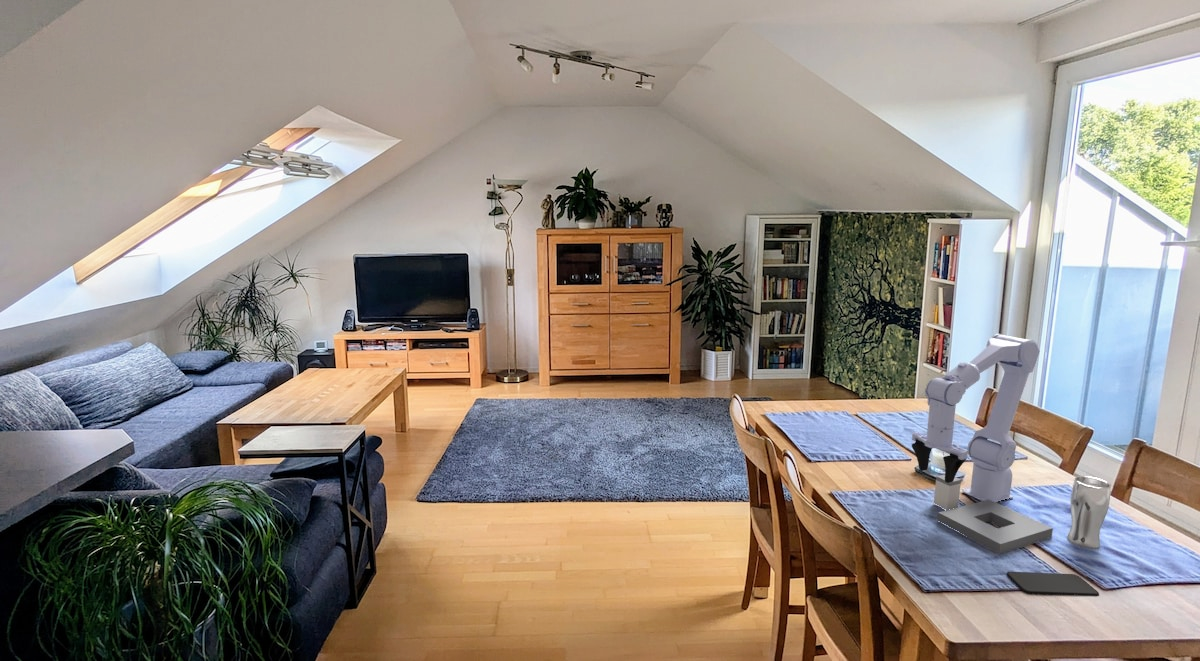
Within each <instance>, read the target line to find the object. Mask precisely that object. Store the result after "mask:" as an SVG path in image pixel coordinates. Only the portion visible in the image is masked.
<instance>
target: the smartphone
mask: <svg viewBox="0 0 1200 661" xmlns="http://www.w3.org/2000/svg"><path fill="white" fill-rule="evenodd" d="M1006 577H1007V578H1008V579H1009V580H1010V581H1011V582H1013V583H1014V585H1016V587H1017V588H1018V589H1019V590H1021V591H1022V592H1023V593H1024V594H1026V595H1036V596H1039V595H1040V596H1076V597H1077V596H1082V597H1083V596H1084V597H1087V596H1088V597H1092V596H1093V597H1097V596H1098V597H1099V596H1100V593H1099V591H1098V590H1097V589H1096V588H1095V587H1093V586H1092V585H1090V584H1089V583H1088V582H1087V581H1085V579H1083V578H1082V577H1081V576H1079V575H1077V574H1073V573H1055V572H1054V573H1053V572H1024V571H1008V572H1006Z"/></svg>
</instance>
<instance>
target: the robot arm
mask: <svg viewBox="0 0 1200 661" xmlns="http://www.w3.org/2000/svg"><path fill="white" fill-rule="evenodd" d="M1040 352H1041V351H1040V349H1039V346H1038V344H1037V342H1036V341H1035V340H1034V339H1030V338H1029V339H1026V338H1021V337H1016V336H1011V335H1010V336H1009V335H1005V334H1002V333H995V334H993V336H992V337H991V338H989V339H988V340H987V342H986V347H985V348H984V349H983V350H982V351H981V352H980V353H979V354H977V356H975V357H974V358H973V359H972V360H971V361H969V362H964V361H963V362H960V363H959V364H957V365H956V366H955V367H954V368H953V369H951V370H950V371H948V372H947V373H946V374H944V375H943V376H942V377H941V376H940V377H934V378H933V379H932V378H931V379H930V380H929V381H928V383H927V385H926V388H925V389H924V393H925V396H926V399H927V402H926V403H927V405H928V406H929V408H928V419H927V420H928V421H927V429H926V430H927V431H926V434H925V433H921V432H918V431H916V432H912V433H911V434H912V435H911V436H912V438H911V441H914V443H911V448H912V450H913V452H914V453H915V456H916V459H917V465H918V469H919V471H920V472H924V471H927V470H928V469H929V462H930V457H931V452H932V449H936V450H939V451H941V452H943V453H946V454H949V455H945V456H943V457H942V459H943V462H944V469H945V470H944V474H945V482H947V483H949V482H953V480H954V478H955V477H956V475H957V473H958V472H959V469H960V468H961V466H962V465H963V464H964V463H965V462H966V460H967V459H968V456H969V457H970V459H971V460H970V462H972V464H973V465H972V474H971V482H970V483H971V484H970V488H968V489H967V488H966V489H963V490H962V493H964V494H966V495H968V496H969V497H972V498H974V499H977V500H978V501H984V500H988V499H989V500H991V501H993V502H996V503H999V502H998V501H1000V502H1002V501H1001V500H1004V501H1006V500H1005V499H1007V500H1010V499H1009V498H1011V499H1014V496H1013V495H1011V489H1012V481H1013V472H1012V469H1011V467H1012V466H1013V464H1014V463H1015V461H1016V460H1015V459H1016V448H1017V443H1016V441H1014V439H1013V438H1012V436H1011V435H1010V431H1011V427H1012V426H1013V425H1012V424H1013V421H1014V419H1015V416H1016V413H1017V410H1018V407H1019V404H1020V402H1021V398H1022V395H1023V393H1024V389H1025V387H1026V384H1027V381H1028V378H1029V375H1030V373H1033V371H1034V369H1035V366H1036V364H1037V361H1038V358H1039V355H1040ZM995 364H997V365H999V366H1000V367H1001V368H1002V370H1003V372H1004V373H1003V376H1002V379H1001V382H1000V385H999V387H998V391H997V393H996V396H995V400H994V402H993V406H992V408H991V411H990V415H989V417H988V420H987V423H986V426H985V427H983V428H981V429H977V430H975V431H974V434H973V435H972V438H971V439H969V440H970V441H969V442H968V445H967V448H966V450H965V449H963V448H962V447H961V446H959V445H957V444H955V443H954V442H953V439H954V438H953V436H954V426H955V415H956V406H957V404H960V402H961V400H962V399H963V396H964V395H965V394H966V392H967V391H966V390H968V389H970V387H972V386H973V385H974V384H976V383H977V382H978V381H979V380H980V378H981V373H983V372H985V371H986V370H988V369H990V368H991V367H993V366H994V365H995Z"/></svg>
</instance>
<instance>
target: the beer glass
mask: <svg viewBox="0 0 1200 661" xmlns="http://www.w3.org/2000/svg"><path fill="white" fill-rule="evenodd" d="M1111 487H1112V486H1111V483H1110V482H1107V481H1106V480H1103V479H1101V478H1098V477H1093V476H1086V475H1079V476H1078V475H1077V476H1075V477H1074V480H1073V484H1072V487H1071V488H1072V489H1071V494H1070V513H1071V523H1070V524H1071V525H1070V528H1069V532H1068V534H1067V536H1066V537H1067V540H1068V541H1069V542H1070V543H1071V544H1072V543H1073V544H1074V545H1077V547H1081V548H1085V549H1098V548H1100V547H1101V539H1100V535H1101V534H1100V533H1101V529H1102V526H1103V524H1104V521H1105V519H1106V517H1107V514H1108V511H1109V508H1110V502H1111V501H1110V500H1111V489H1112V488H1111Z"/></svg>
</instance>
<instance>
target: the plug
mask: <svg viewBox="0 0 1200 661" xmlns="http://www.w3.org/2000/svg"><path fill="white" fill-rule="evenodd" d="M961 482H962V479H960V478H958V477H956V476H955V478H954V480H953V482H949V483H947V482H945V473H944V474H941V475H937V476H935V487H934V498H933V504H934V503H935V504H937V505H939V506H941V507H942V508H944V509H946V510H949V509H953V508H958V507H959V504H960V502H959V501H960V493H961V485H962V483H961Z"/></svg>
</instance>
